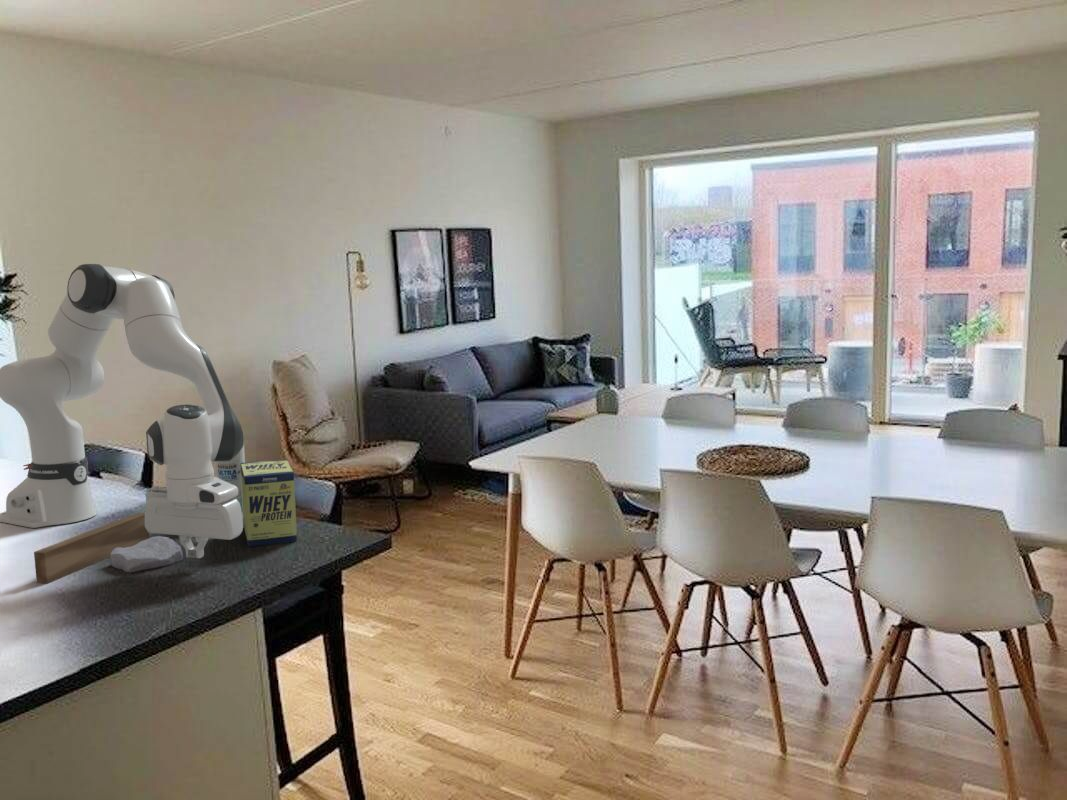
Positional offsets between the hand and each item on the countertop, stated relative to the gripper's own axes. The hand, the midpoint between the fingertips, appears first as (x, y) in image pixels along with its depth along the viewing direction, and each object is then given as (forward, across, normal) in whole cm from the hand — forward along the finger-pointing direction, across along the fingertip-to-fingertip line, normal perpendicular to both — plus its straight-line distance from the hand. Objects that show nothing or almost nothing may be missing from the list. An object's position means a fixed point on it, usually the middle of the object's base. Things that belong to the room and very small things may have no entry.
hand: (195, 556), depth 170 cm
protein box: (+3, +2, +24) cm, 24 cm away
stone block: (+3, -12, +1) cm, 12 cm away
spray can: (+3, -14, +34) cm, 37 cm away
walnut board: (+3, -23, 0) cm, 24 cm away
